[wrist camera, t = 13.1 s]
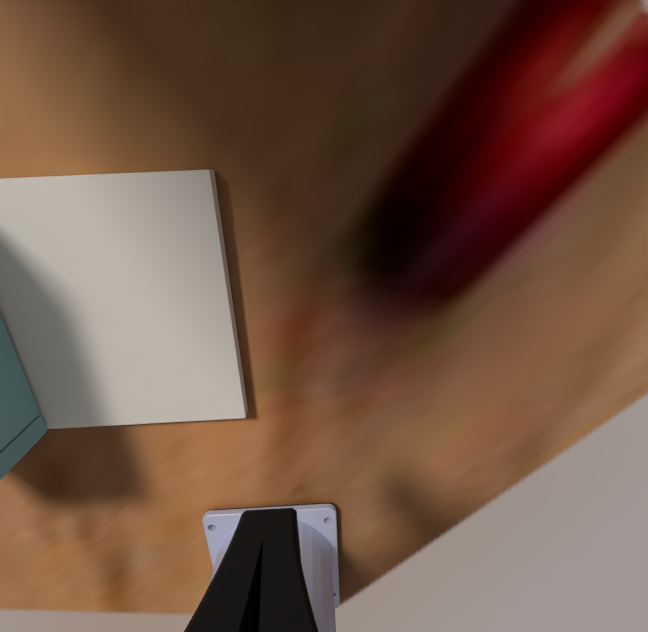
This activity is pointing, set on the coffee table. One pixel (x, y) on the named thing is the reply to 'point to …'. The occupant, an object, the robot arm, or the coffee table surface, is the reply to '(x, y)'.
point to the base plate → (120, 298)
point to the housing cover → (15, 408)
